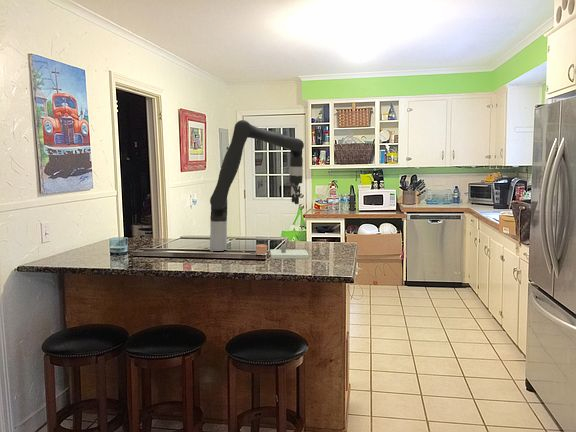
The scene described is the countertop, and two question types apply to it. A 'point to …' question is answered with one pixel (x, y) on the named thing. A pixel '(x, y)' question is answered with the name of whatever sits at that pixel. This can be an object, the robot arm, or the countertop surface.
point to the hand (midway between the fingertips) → (295, 203)
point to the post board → (288, 253)
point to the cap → (261, 249)
